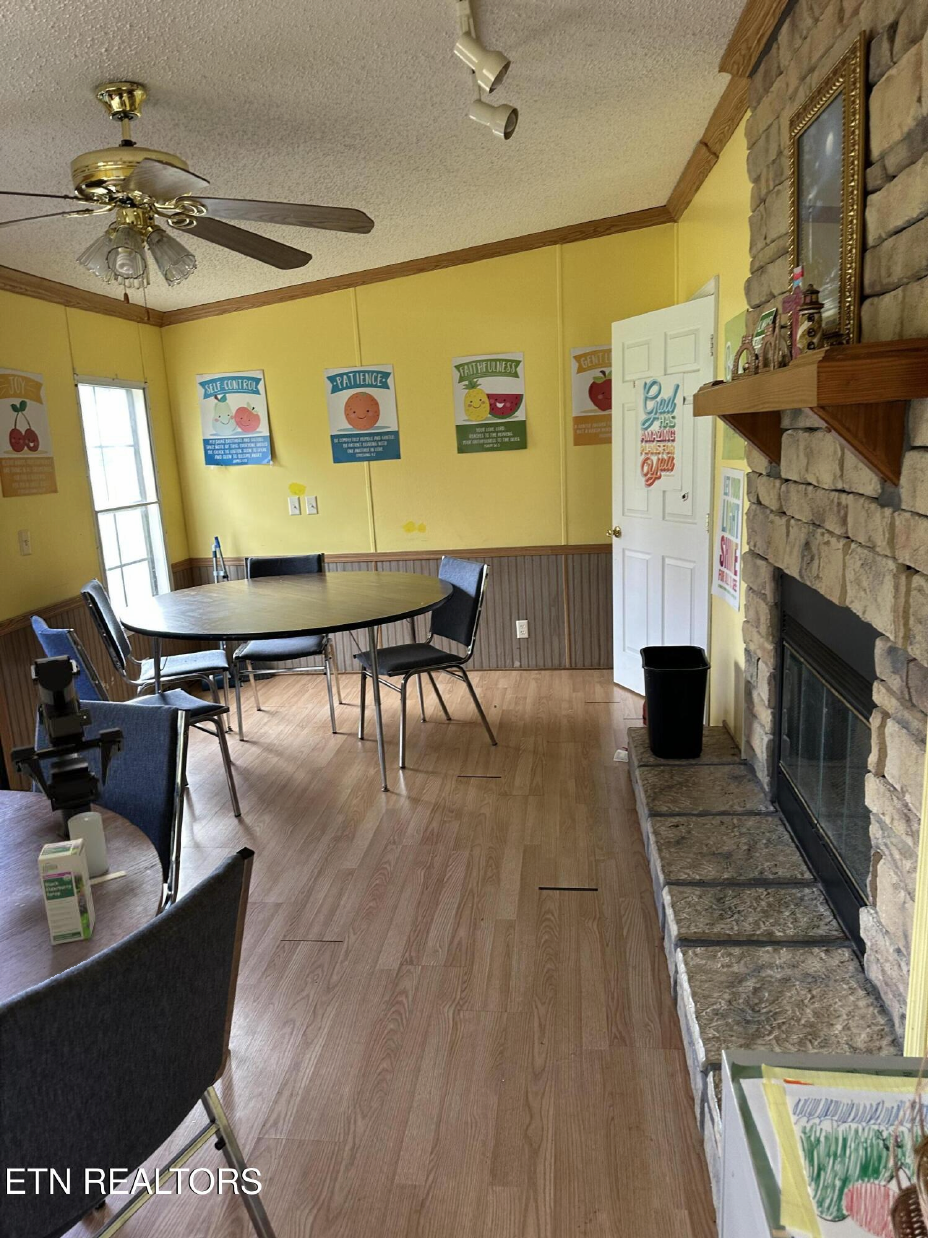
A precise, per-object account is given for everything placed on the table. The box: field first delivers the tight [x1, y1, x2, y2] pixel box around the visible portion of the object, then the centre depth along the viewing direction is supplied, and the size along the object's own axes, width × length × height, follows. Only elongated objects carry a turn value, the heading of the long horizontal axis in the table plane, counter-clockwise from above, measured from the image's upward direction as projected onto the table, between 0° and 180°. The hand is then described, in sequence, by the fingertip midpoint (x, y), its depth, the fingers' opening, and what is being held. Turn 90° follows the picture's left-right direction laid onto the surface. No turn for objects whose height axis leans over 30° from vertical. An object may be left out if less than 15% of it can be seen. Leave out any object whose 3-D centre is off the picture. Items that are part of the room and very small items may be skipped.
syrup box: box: [37, 838, 96, 946], centre depth 130 cm, size 6×6×14 cm
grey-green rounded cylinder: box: [68, 811, 109, 879], centre depth 150 cm, size 5×5×10 cm
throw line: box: [89, 870, 127, 886], centre depth 147 cm, size 10×2×1 cm, turn 121°
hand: (77, 792), depth 151 cm, fingers open, 9 cm apart
